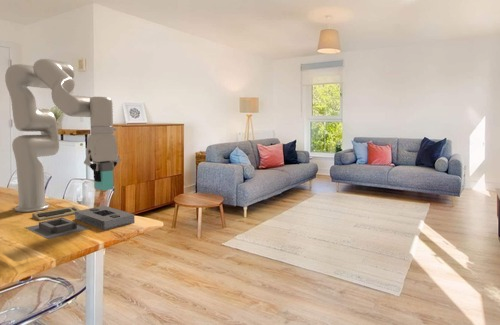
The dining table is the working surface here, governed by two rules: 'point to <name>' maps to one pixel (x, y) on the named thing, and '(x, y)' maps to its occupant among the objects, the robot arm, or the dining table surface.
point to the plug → (105, 176)
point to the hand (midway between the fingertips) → (103, 180)
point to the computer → (55, 213)
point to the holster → (57, 228)
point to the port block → (104, 217)
